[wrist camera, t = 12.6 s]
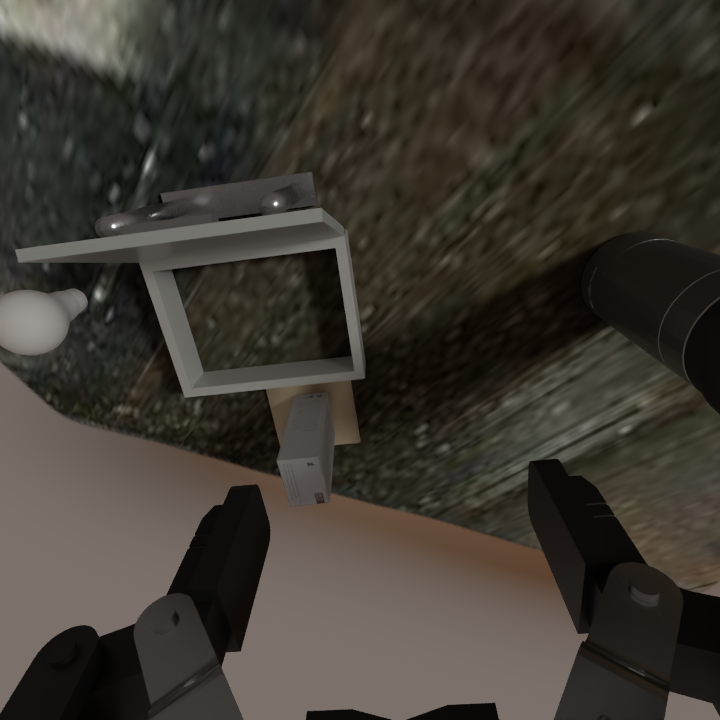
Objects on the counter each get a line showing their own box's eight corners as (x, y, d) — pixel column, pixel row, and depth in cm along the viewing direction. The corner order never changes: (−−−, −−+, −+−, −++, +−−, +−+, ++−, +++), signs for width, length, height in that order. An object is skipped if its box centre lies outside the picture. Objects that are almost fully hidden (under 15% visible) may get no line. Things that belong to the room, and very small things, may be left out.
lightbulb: (119, 300, 49) (55, 339, 39) (87, 334, 51) (17, 378, 41) (72, 257, 47) (-8, 286, 37) (40, 294, 49) (-45, 330, 39)
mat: (350, 375, 52) (350, 378, 52) (360, 439, 56) (360, 442, 55) (266, 384, 53) (265, 387, 52) (281, 447, 57) (281, 450, 56)
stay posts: (312, 171, 43) (286, 180, 30) (317, 204, 44) (295, 226, 32) (163, 193, 44) (78, 210, 32) (172, 224, 45) (94, 252, 33)
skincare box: (292, 394, 53) (271, 458, 42) (330, 390, 52) (318, 453, 41) (303, 437, 55) (285, 509, 44) (339, 433, 55) (330, 504, 44)
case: (346, 228, 45) (344, 235, 42) (365, 362, 51) (364, 378, 48) (157, 254, 47) (139, 262, 43) (197, 380, 53) (184, 397, 49)
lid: (344, 235, 42) (342, 220, 41) (323, 221, 27) (319, 197, 27) (139, 262, 43) (135, 247, 43) (18, 262, 29) (12, 240, 29)
